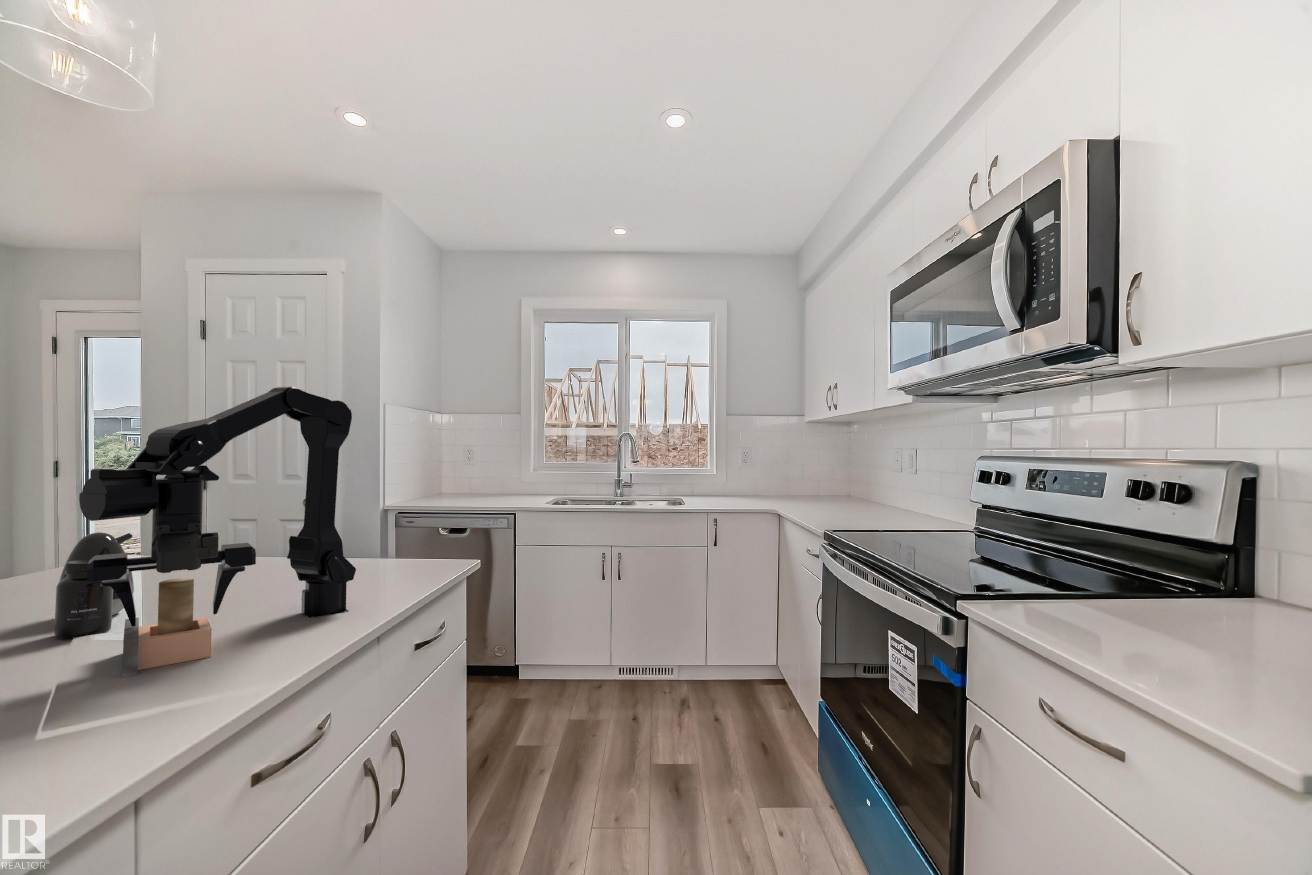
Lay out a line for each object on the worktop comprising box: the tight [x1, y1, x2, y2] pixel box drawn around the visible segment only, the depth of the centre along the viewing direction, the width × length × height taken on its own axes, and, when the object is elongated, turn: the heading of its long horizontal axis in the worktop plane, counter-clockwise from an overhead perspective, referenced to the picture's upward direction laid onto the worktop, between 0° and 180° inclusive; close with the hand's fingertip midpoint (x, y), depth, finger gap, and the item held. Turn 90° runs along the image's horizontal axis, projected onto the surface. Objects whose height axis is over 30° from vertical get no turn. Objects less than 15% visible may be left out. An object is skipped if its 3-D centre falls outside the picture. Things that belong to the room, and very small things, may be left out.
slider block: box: [138, 616, 212, 671], centre depth 86 cm, size 8×8×4 cm
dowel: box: [157, 577, 195, 635], centre depth 86 cm, size 4×4×10 cm
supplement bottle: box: [53, 559, 113, 640], centre depth 97 cm, size 7×7×12 cm
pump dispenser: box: [58, 531, 135, 617], centre depth 107 cm, size 10×10×15 cm
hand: (175, 619), depth 86 cm, fingers open, 9 cm apart
